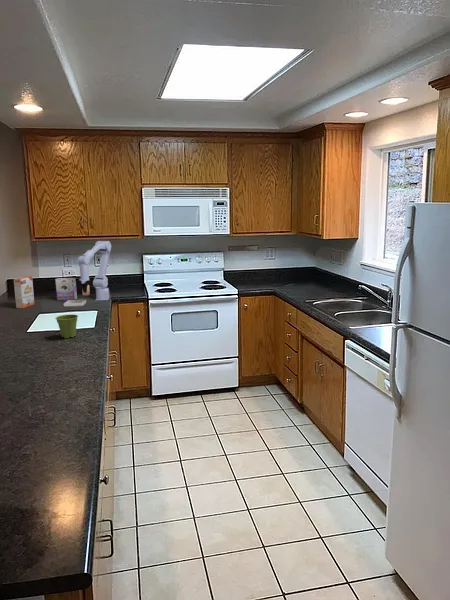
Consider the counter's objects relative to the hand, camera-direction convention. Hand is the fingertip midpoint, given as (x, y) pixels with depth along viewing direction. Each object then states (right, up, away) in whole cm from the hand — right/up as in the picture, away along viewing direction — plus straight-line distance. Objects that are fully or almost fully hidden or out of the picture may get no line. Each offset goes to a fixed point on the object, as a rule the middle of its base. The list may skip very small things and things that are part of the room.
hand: (85, 291), depth 351 cm
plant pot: (+14, -26, -84) cm, 89 cm away
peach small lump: (0, -2, 0) cm, 2 cm away
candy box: (-19, -6, +18) cm, 27 cm away
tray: (-8, -9, +1) cm, 12 cm away
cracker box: (-42, -11, -3) cm, 43 cm away
